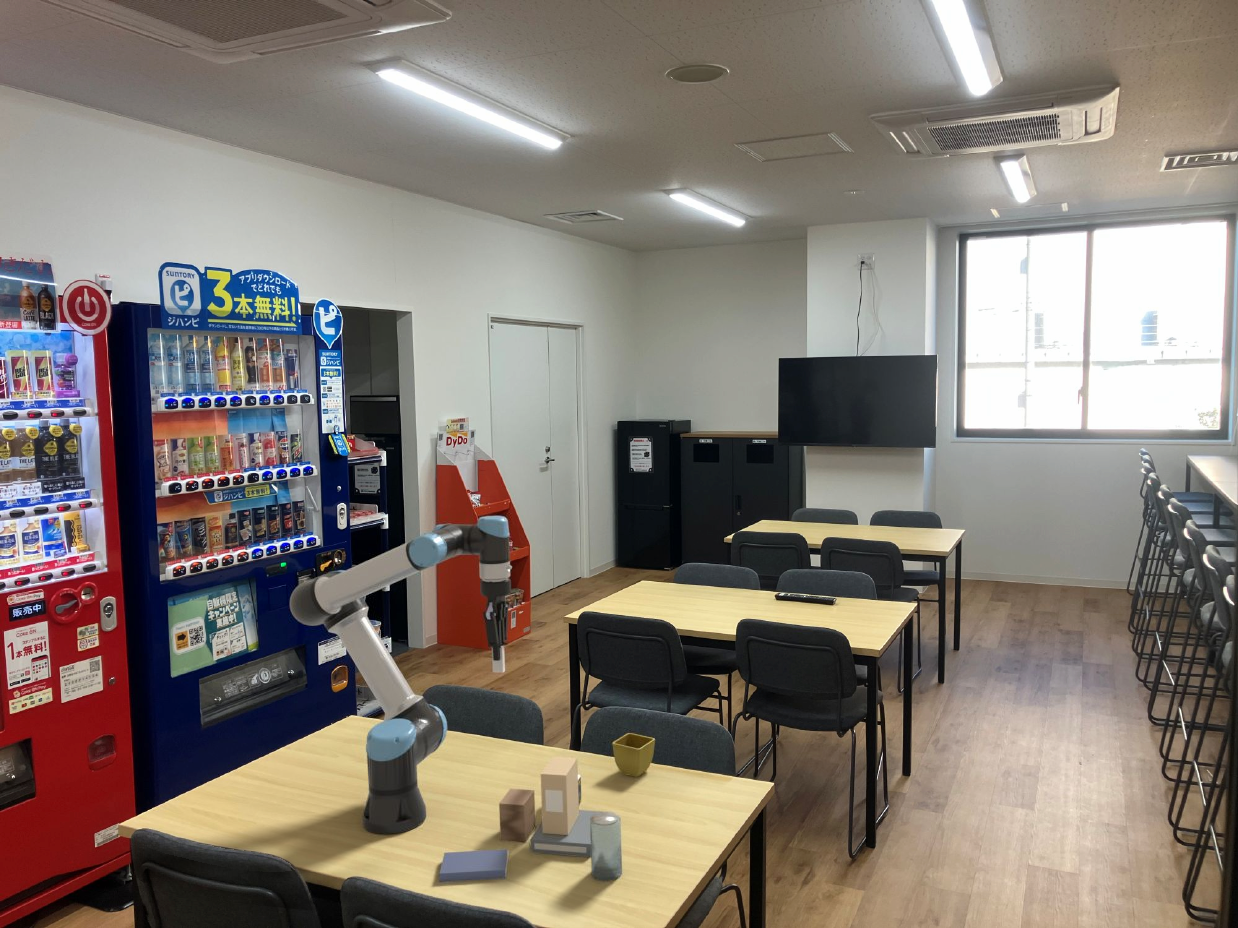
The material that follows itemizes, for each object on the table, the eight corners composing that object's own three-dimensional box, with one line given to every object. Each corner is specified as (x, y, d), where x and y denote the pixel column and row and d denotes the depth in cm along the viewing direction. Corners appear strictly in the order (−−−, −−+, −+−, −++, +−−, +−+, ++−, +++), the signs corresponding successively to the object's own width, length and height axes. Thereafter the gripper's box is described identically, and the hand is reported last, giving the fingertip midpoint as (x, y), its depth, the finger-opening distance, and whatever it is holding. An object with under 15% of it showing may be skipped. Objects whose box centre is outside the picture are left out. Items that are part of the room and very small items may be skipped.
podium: (530, 852, 207) (530, 839, 207) (550, 819, 223) (550, 807, 223) (590, 857, 204) (590, 844, 204) (606, 823, 220) (606, 811, 220)
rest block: (500, 840, 213) (499, 803, 213) (511, 824, 221) (510, 788, 220) (525, 842, 212) (523, 804, 211) (535, 826, 220) (534, 790, 219)
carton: (542, 833, 210) (540, 773, 209) (554, 813, 220) (552, 756, 219) (567, 835, 209) (565, 775, 207) (579, 814, 218) (577, 757, 217)
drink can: (588, 879, 195) (586, 823, 194) (595, 863, 202) (593, 809, 201) (618, 882, 194) (617, 825, 193) (624, 866, 200) (623, 811, 199)
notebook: (439, 884, 196) (439, 873, 196) (445, 862, 205) (444, 852, 205) (506, 880, 197) (505, 869, 197) (508, 859, 206) (507, 848, 206)
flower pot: (656, 769, 251) (655, 737, 250) (640, 781, 243) (639, 748, 243) (629, 763, 256) (628, 732, 255) (612, 775, 248) (611, 742, 247)
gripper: (501, 584, 220) (504, 680, 222) (518, 573, 233) (521, 664, 235) (471, 583, 222) (475, 679, 224) (490, 573, 235) (493, 663, 236)
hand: (498, 671), depth 229 cm, fingers closed
